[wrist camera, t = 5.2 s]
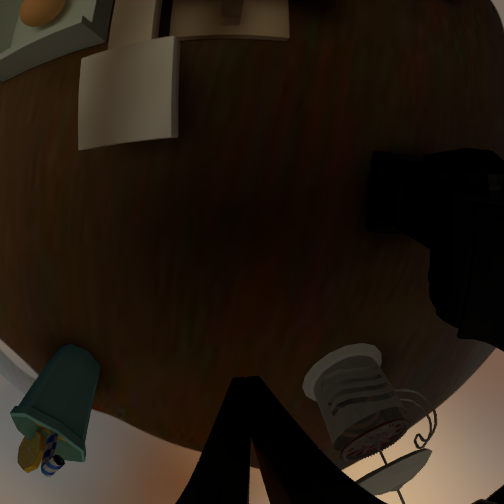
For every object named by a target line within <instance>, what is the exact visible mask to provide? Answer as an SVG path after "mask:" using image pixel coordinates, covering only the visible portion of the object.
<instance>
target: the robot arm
mask: <svg viewBox="0 0 504 504" xmlns="http://www.w3.org/2000/svg"><path fill="white" fill-rule="evenodd" d="M379 155H380V156H381V159H380V160H379V159H378V156H379ZM367 208H368V217H367V225H366V226H367V230H368V231H370V232H371V233H404V234H406V235H408V236H409V237H411V238H413V239H414V240H416V241H418V242H419V243H421V244H422V245H424V246H426V247H427V248H429V249H430V269H429V272H428V281H429V283H430V284H429V294H430V299H431V301H432V303H433V305H434V307H435V308H436V314H437V316H439V317H440V318H441V319H442V320H443V321H445V322H446V323H448V324H450V325H452V326H454V327H456V328H459V330H458V334H457V337H458V338H459V339H475V340H479V341H483V342H486V343H488V344H491V345H493V346H495V347H496V348H498V349H500V350H502V351H504V161H503V160H502V159H501V158H500V157H499V156H498V155H497V154H496V153H495V152H494V151H490V150H482V149H473V148H463V149H457V150H451V151H445V152H439V153H433V154H428V155H424V159H423V158H418V157H413V156H407V155H402V154H396V153H390V152H383V151H376V152H374V154H373V162H372V176H371V177H370V186H369V197H368V207H367ZM373 224H374V227H373V228H371V226H372V225H373ZM251 438H252V443H253V446H254V450H255V454H256V457H257V461H258V464H259V468H260V471H261V475H262V478H263V481H264V484H265V488H266V491H267V495H268V498H269V501H270V504H387V503H385V502H383V501H381V500H380V499H378V498H377V497H375V496H374V495H372V494H371V493H370V492H368V491H367V490H365V489H364V488H363V487H361V486H360V485H359V484H357V483H356V482H354V481H353V480H352V479H351V478H349V477H348V476H347V475H346V474H345V473H343V472H342V471H341V470H340V469H339V468H338V467H337V466H336V465H335V464H334V463H333V462H332V461H331V460H330V459H329V458H328V457H327V456H326V455H325V454H324V453H323V452H322V451H321V450H320V449H318V447H317V445H316V444H315V443H314V442H313V441H312V440H311V439H310V437H309V436H308V435H307V434H306V433H305V432H304V431H303V429H302V428H301V427H300V426H299V425H298V424H297V422H296V421H295V420H294V419H293V418H292V416H291V415H290V414H289V413H288V412H287V410H286V409H285V408H284V407H283V405H282V404H281V403H280V402H279V401H278V399H277V398H276V397H275V396H274V394H273V393H272V392H271V391H270V389H269V388H268V387H267V386H266V384H265V383H264V382H263V380H262V379H261V378H260V377H259V376H250V377H247V378H245V377H235V378H233V379H232V381H231V383H230V386H229V388H228V391H227V393H226V396H225V398H224V401H223V403H222V406H221V408H220V411H219V413H218V416H217V418H216V420H215V423H214V425H213V428H212V430H211V433H210V435H209V437H208V440H207V442H206V444H205V447H204V449H203V452H202V454H201V457H200V459H199V462H198V463H197V465H196V468H195V470H194V472H193V474H192V476H191V478H190V480H189V482H188V484H187V486H186V488H185V489H184V491H183V493H182V494H181V496H180V498H179V499H178V501H177V502H176V503H175V504H249V479H250V445H251ZM472 504H504V485H503V486H502V487H501V488H499V489H498V490H497V491H495V492H494V493H493V494H492V495H490V496H489V497H488V498H487V499H486V500H484V499H480V500H477V501H475V502H474V503H472Z"/></svg>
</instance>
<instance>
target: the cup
mask: <svg viewBox="0 0 504 504" xmlns="http://www.w3.org/2000/svg"><path fill="white" fill-rule="evenodd" d="M99 373H100V365H99V363H98V362H97V361H96V360H95V359H94V357H93V356H92V355H91V354H90V353H89V351H86V350H84V349H82V348H80V347H78V346H75V345H73V344H69V345H66V346H62V347H60V348H59V349H58V350H57V352H56V353H55V354H54V356H53V357H52V358H51V360H50V361H49V362H48V364H47V365H46V367H45V368H44V369H43V371H42V372H41V373H40V375H39V376H38V378H37V379H36V381H35V382H34V383H33V385H32V386H31V388H30V389H29V391H28V392H27V394H26V395H25V397H24V398H23V400H22V401H21V403H20V404H19V406H15V407H14V408H13V409H12V411H11V412H10V414H11V417H12V419H13V421H14V423H15V425H16V427H17V429H18V430H19V431H20V432H21V433H22V434H23V435H24V436H25V437H24V439H23V441H22V443H21V445H20V447H19V452H18V463H19V465H20V466H21V468H22V469H23V470H24V471H26V472H28V473H29V472H31V471H33V470H35V469H37V468H38V466H39V464H40V462H41V460H42V463H41V470H42V473H43V474H44V475H45V476H47V477H51V476H52V475H53V474H54V473H55V472H56V471H58V469H60V468H61V467H62V466H63V465H64V464H65V462H64V460H68V461H77V462H85V457H86V449H85V439H86V434H87V428H88V423H89V418H90V412H91V408H92V404H93V399H94V395H95V391H96V387H97V383H98V379H99Z"/></svg>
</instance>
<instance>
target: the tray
mask: <svg viewBox="0 0 504 504" xmlns="http://www.w3.org/2000/svg"><path fill="white" fill-rule="evenodd" d="M22 2H23V0H0V82H5V81H7V80H9V79H11V78H13V77H15V76H17V75H19V74H21V73H23V72H25V71H27V70H29V69H31V68H34V67H36V66H38V65H40V64H43V63H45V62H48V61H50V60H53V59H55V58H58V57H61V56H63V55H66V54H69V53H72V52H75V51H78V50H81V49H85V48H88V47H91V46H95V45H98V44H102V43H106V41H107V34H108V27H109V21H110V16H111V10H112V5H113V0H107V1H104V2H103V1H102V0H66V1H65V4H64V6H63V8H62V10H61V11H60V13H59V14H58V15H57V16H56V17H55V18H54V19H53V20H51V21H50V22H48V23H46V24H44V25H41V26H37V27H30V26H27V25H25V24H24V23H23V22H22V21H21V19H20V15H19V11H20V7H21V4H22Z"/></svg>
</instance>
